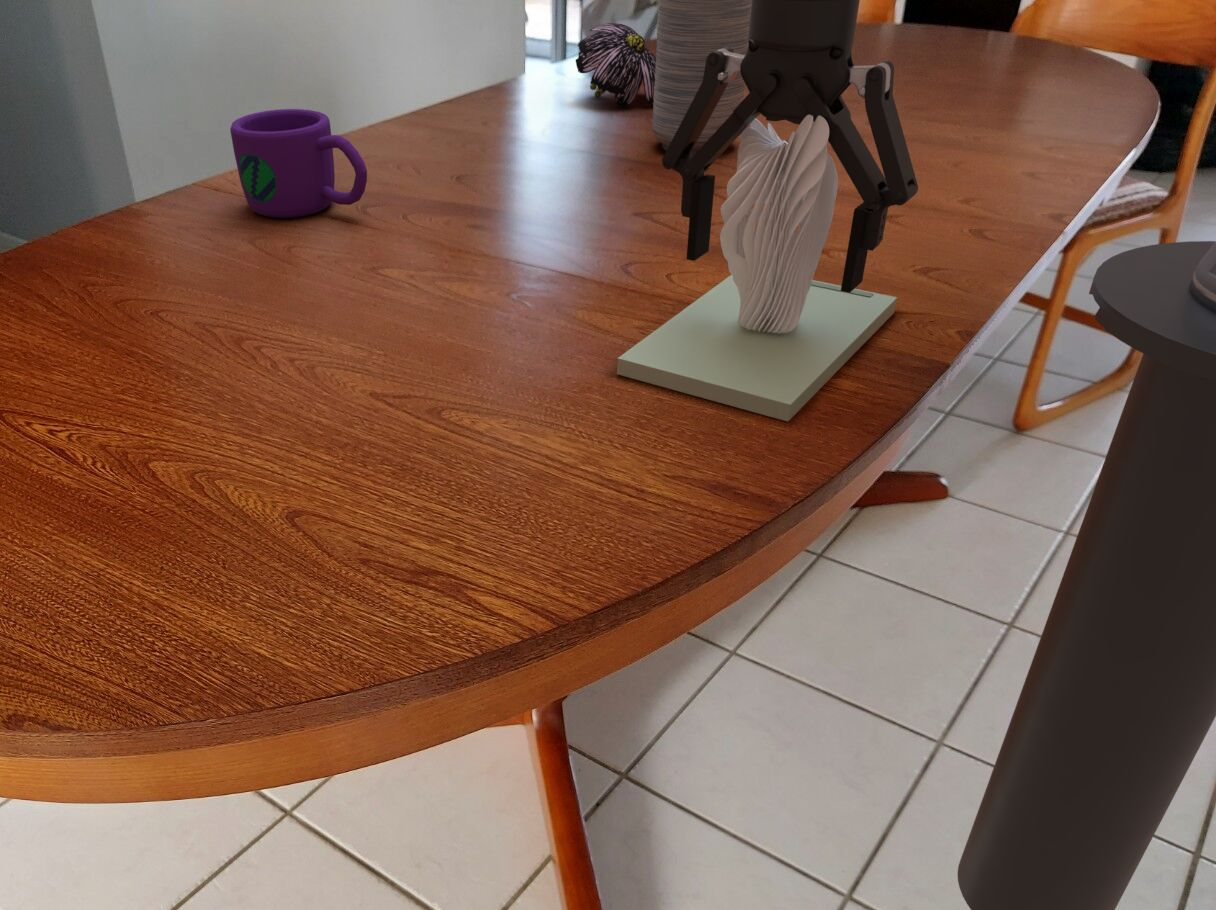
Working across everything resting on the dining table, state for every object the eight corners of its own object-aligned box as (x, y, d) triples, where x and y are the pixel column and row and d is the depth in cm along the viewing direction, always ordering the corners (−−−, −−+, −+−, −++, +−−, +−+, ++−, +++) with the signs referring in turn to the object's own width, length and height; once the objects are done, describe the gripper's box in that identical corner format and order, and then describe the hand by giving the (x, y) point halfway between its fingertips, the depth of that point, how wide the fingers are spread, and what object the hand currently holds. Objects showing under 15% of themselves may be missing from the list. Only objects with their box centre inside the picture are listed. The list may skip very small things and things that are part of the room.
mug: (224, 214, 123) (208, 126, 117) (286, 187, 131) (273, 104, 125) (340, 235, 116) (329, 143, 110) (398, 206, 124) (391, 118, 118)
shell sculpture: (724, 302, 93) (746, 90, 83) (818, 312, 91) (853, 95, 80) (706, 339, 87) (726, 115, 77) (806, 352, 85) (842, 122, 74)
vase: (656, 160, 135) (667, -40, 122) (646, 137, 145) (655, -51, 131) (745, 157, 135) (766, -43, 122) (730, 134, 144) (748, -55, 131)
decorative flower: (617, 46, 148) (576, -1, 157) (585, 122, 156) (548, 73, 164) (696, 64, 155) (653, 18, 164) (662, 136, 163) (622, 89, 171)
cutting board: (741, 280, 101) (743, 264, 100) (894, 312, 94) (897, 295, 93) (616, 374, 86) (617, 356, 85) (788, 422, 79) (791, 402, 78)
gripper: (1005, -15, 70) (938, 284, 82) (675, -32, 82) (660, 231, 95) (973, 2, 65) (907, 317, 78) (628, -19, 78) (618, 256, 90)
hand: (771, 270), depth 86 cm, fingers open, 13 cm apart
